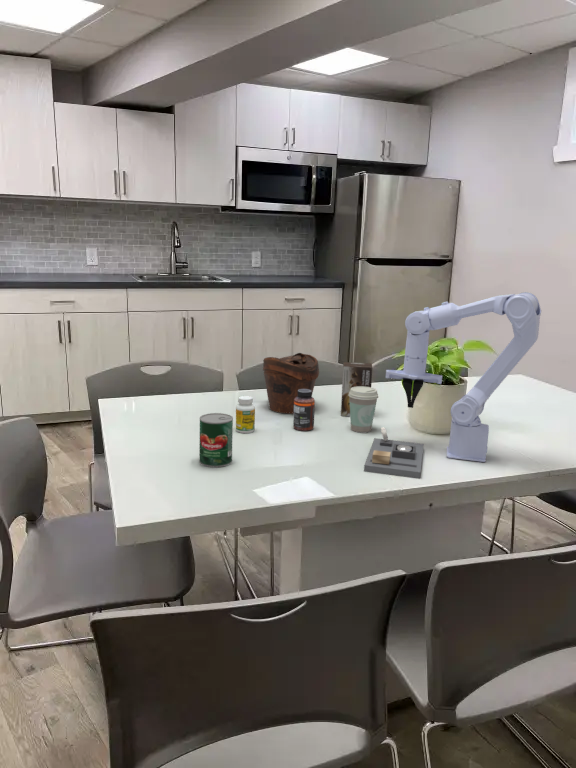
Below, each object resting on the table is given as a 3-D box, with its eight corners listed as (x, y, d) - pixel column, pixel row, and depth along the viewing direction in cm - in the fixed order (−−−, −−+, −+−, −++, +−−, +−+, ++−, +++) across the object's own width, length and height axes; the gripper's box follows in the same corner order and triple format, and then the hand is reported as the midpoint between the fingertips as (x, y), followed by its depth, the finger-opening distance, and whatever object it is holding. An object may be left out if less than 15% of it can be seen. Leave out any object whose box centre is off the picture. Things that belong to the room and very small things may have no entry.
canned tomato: (201, 468, 138) (201, 423, 135) (197, 456, 145) (197, 413, 143) (235, 466, 140) (236, 421, 138) (228, 454, 148) (229, 412, 145)
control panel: (423, 449, 157) (424, 437, 156) (419, 478, 137) (421, 465, 136) (374, 443, 160) (374, 432, 159) (363, 471, 140) (364, 458, 139)
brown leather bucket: (317, 400, 200) (318, 348, 196) (318, 418, 181) (320, 360, 177) (264, 399, 201) (264, 347, 196) (260, 416, 181) (261, 359, 177)
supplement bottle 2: (309, 424, 174) (311, 387, 172) (316, 430, 169) (318, 392, 166) (290, 425, 172) (291, 388, 170) (297, 432, 167) (298, 393, 164)
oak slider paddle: (390, 459, 143) (390, 452, 143) (388, 464, 140) (389, 456, 140) (373, 457, 144) (374, 450, 144) (372, 462, 141) (372, 454, 141)
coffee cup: (352, 434, 166) (355, 393, 164) (342, 425, 174) (344, 386, 172) (380, 433, 169) (383, 392, 166) (368, 424, 177) (371, 385, 174)
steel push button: (411, 452, 149) (412, 446, 149) (410, 456, 145) (411, 450, 145) (397, 450, 150) (397, 444, 149) (396, 455, 146) (396, 448, 146)
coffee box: (369, 412, 189) (372, 362, 186) (369, 418, 183) (373, 367, 179) (340, 410, 190) (343, 361, 186) (340, 416, 184) (343, 365, 180)
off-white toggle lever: (388, 439, 155) (385, 426, 155) (388, 440, 154) (384, 427, 154) (384, 440, 155) (380, 427, 155) (383, 441, 154) (380, 428, 154)
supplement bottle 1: (248, 426, 170) (249, 394, 168) (258, 431, 166) (259, 398, 164) (232, 429, 167) (232, 396, 165) (241, 434, 163) (241, 401, 161)
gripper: (386, 356, 153) (381, 407, 156) (444, 362, 150) (438, 414, 153) (388, 352, 160) (384, 400, 163) (444, 357, 156) (438, 406, 160)
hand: (410, 406), depth 158 cm, fingers closed
